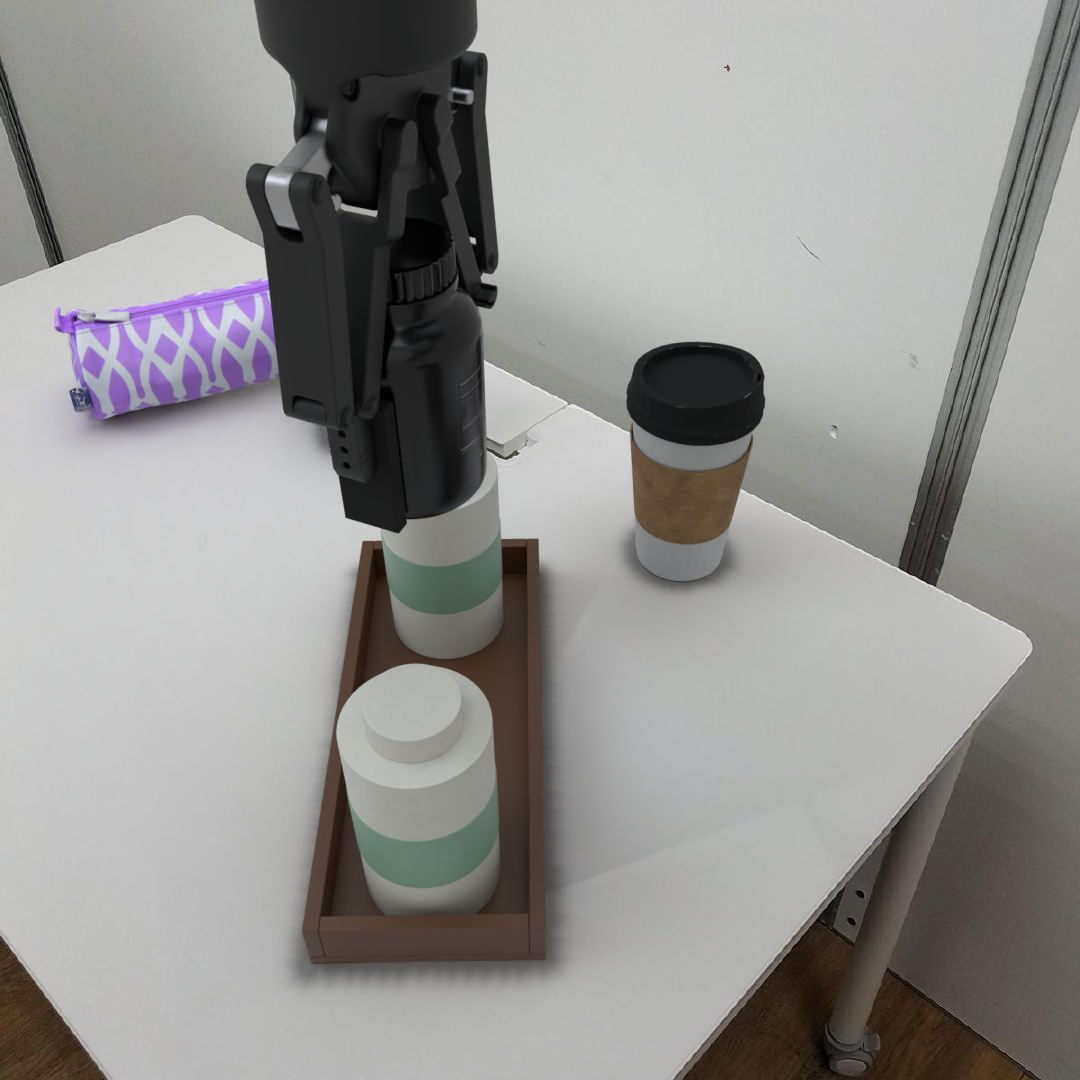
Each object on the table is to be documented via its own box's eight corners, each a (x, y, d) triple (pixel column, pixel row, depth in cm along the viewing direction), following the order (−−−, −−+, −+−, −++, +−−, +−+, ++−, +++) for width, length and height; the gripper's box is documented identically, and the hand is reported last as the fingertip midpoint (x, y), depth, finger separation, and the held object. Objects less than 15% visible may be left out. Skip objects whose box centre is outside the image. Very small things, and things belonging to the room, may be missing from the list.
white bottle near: (521, 902, 57) (515, 736, 48) (386, 951, 55) (353, 788, 46) (475, 793, 62) (462, 623, 52) (350, 835, 60) (313, 666, 51)
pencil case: (87, 447, 86) (50, 342, 80) (71, 385, 92) (35, 283, 86) (361, 378, 93) (347, 276, 86) (329, 324, 99) (314, 225, 93)
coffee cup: (730, 606, 73) (759, 419, 63) (604, 581, 75) (613, 396, 65) (748, 524, 79) (778, 342, 69) (632, 502, 81) (644, 322, 71)
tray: (539, 571, 75) (538, 537, 73) (545, 959, 55) (545, 927, 53) (367, 574, 75) (362, 540, 73) (310, 963, 55) (301, 931, 53)
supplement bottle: (325, 519, 50) (282, 279, 42) (362, 429, 55) (329, 199, 47) (476, 531, 49) (462, 289, 41) (499, 439, 54) (490, 206, 46)
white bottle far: (520, 641, 70) (515, 471, 61) (412, 673, 68) (390, 503, 59) (482, 568, 75) (473, 401, 66) (380, 596, 73) (356, 429, 64)
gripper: (403, -148, 44) (442, 348, 60) (59, -6, 31) (223, 586, 46) (578, -132, 42) (571, 379, 57) (288, 28, 29) (381, 638, 44)
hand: (416, 471), depth 52 cm, fingers closed on supplement bottle, 7 cm apart
